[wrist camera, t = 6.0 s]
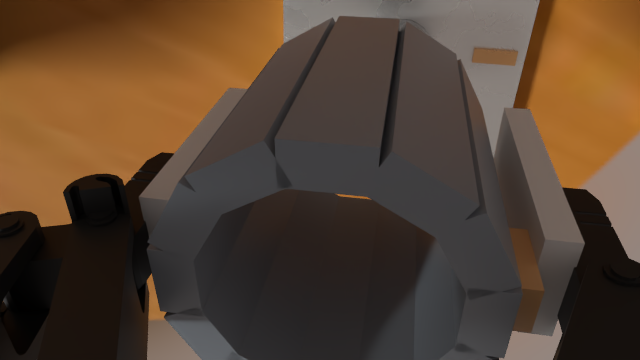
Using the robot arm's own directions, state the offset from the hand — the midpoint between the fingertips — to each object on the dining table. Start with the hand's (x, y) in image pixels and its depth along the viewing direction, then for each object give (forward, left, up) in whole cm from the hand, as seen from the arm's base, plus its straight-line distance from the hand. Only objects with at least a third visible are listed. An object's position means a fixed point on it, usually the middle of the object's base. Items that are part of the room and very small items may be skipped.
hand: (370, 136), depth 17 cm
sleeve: (0, 0, 0) cm, 0 cm away
